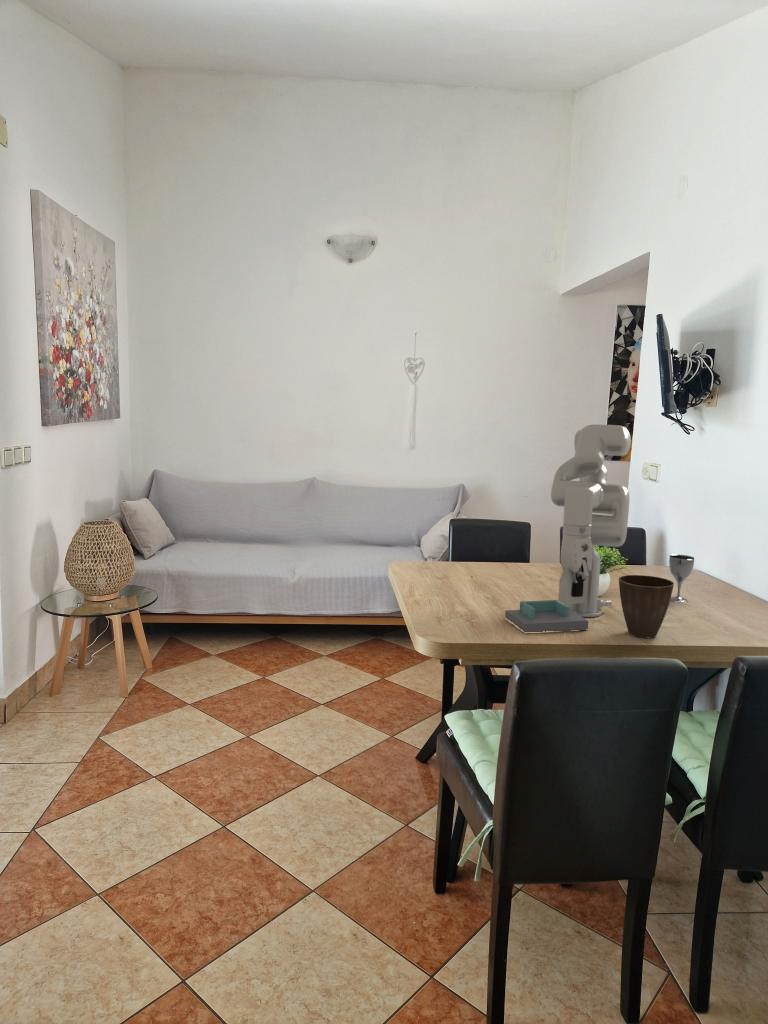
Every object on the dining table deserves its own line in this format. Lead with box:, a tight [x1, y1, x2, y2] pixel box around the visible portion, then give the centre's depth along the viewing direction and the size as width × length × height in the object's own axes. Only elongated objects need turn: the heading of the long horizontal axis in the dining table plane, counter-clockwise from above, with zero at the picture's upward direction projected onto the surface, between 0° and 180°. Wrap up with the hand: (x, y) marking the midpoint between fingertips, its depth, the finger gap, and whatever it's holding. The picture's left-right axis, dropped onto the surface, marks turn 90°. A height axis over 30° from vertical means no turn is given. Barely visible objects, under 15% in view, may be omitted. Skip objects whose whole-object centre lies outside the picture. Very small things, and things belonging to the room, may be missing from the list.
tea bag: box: [557, 567, 588, 604], centre depth 203 cm, size 4×7×10 cm, turn 107°
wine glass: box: [668, 554, 695, 603], centre depth 250 cm, size 8×8×15 cm
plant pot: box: [618, 574, 675, 638], centre depth 209 cm, size 15×15×16 cm
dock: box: [504, 599, 589, 632], centre depth 217 cm, size 20×14×6 cm
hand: (572, 593), depth 204 cm, fingers closed on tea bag, 3 cm apart
